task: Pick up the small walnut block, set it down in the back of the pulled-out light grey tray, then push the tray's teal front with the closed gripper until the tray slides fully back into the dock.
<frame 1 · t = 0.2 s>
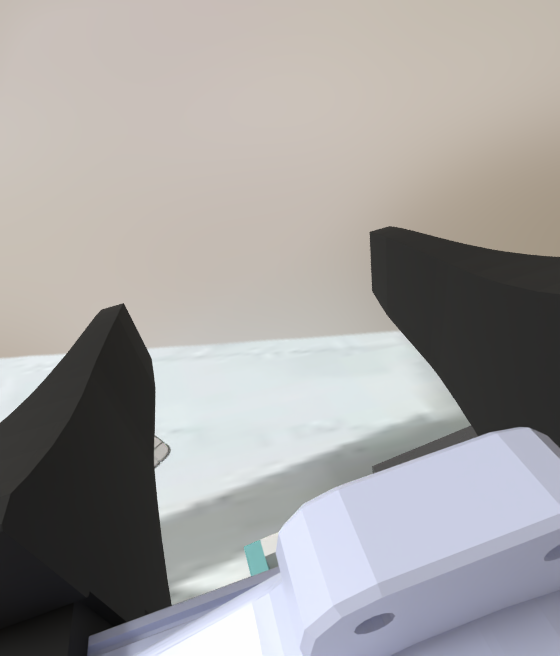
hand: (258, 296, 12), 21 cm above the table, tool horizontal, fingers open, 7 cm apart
dock: (548, 590, 22), on the table
tray: (420, 641, 20), point 2 cm above the table, slide at 8.0 cm
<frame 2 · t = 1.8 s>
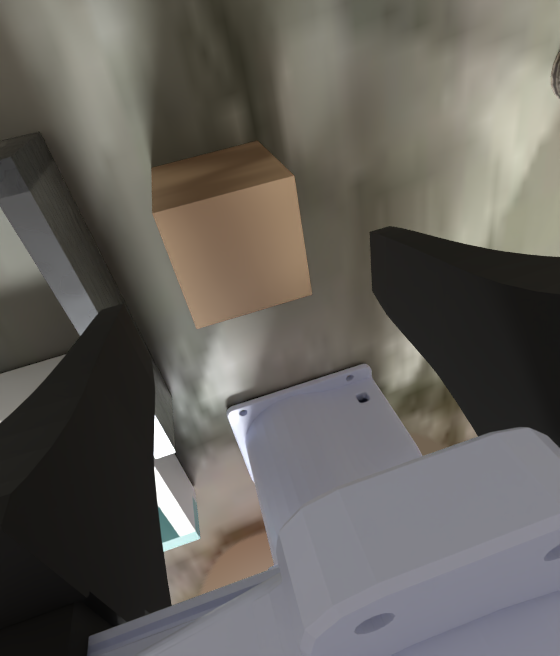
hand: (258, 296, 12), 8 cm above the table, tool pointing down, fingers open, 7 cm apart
walnut block: (219, 205, 18), on the table
tray: (36, 493, 23), point 2 cm above the table, slide at 8.0 cm
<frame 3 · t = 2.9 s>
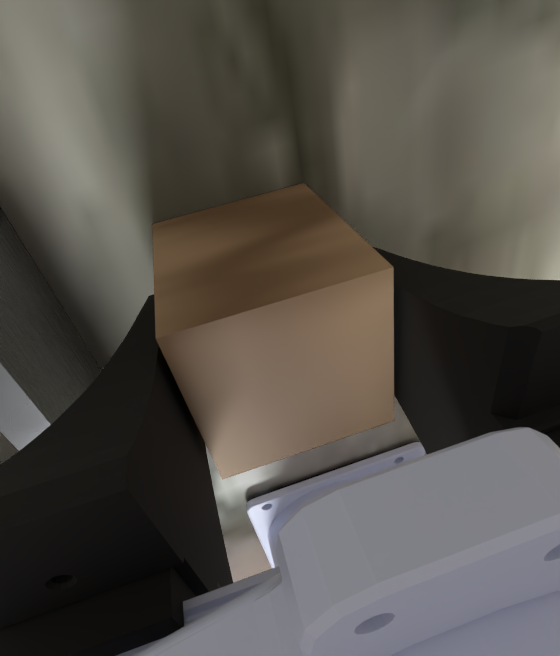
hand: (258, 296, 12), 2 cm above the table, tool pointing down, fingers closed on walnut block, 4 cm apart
walnut block: (247, 270, 13), on the table, touching gripper
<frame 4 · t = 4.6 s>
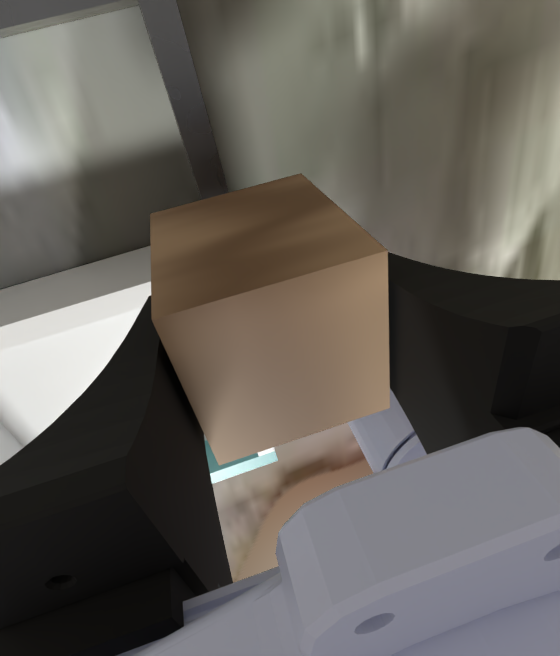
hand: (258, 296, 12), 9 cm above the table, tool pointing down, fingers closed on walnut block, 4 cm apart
walnut block: (244, 261, 13), point 7 cm above the table, touching gripper
dock: (42, 252, 18), on the table
tray: (117, 402, 22), point 2 cm above the table, slide at 8.0 cm
when the fingers open (5 cm above the table, at t = 6.5 s): walnut block drops 2 cm, resting on tray.
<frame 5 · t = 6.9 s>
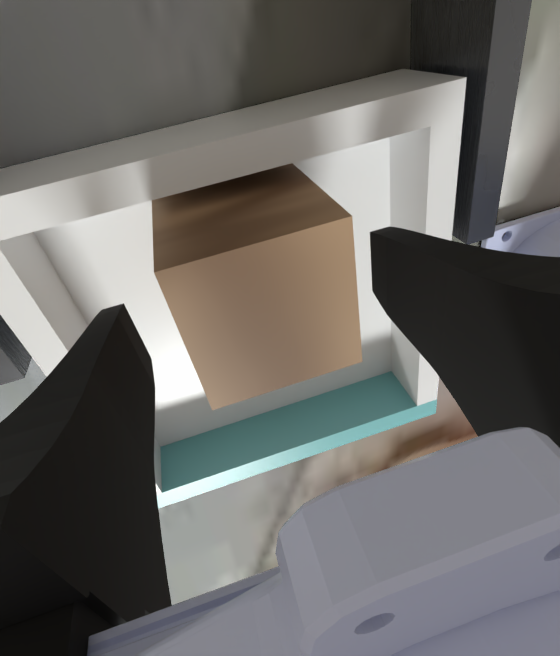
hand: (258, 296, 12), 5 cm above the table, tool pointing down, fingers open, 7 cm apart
walnut block: (236, 238, 15), point 1 cm above the table, touching tray
dock: (190, 82, 13), on the table
tray: (257, 321, 16), point 2 cm above the table, slide at 8.0 cm, touching walnut block
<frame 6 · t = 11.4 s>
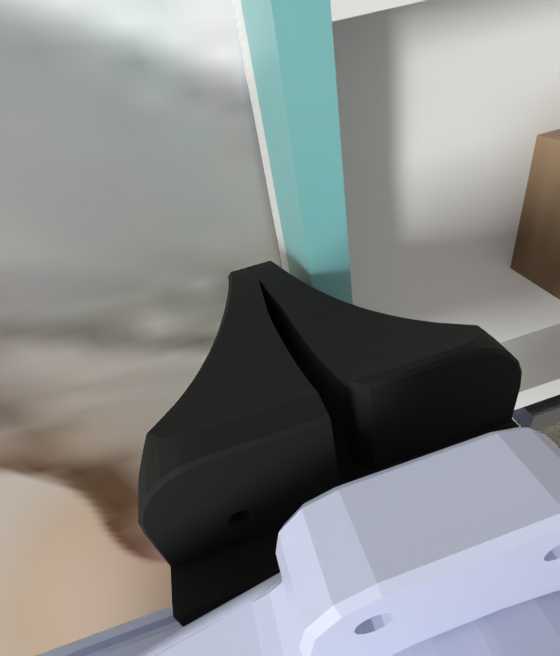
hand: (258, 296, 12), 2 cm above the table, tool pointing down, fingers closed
tray: (512, 222, 13), point 2 cm above the table, slide at 6.8 cm, touching gripper, walnut block
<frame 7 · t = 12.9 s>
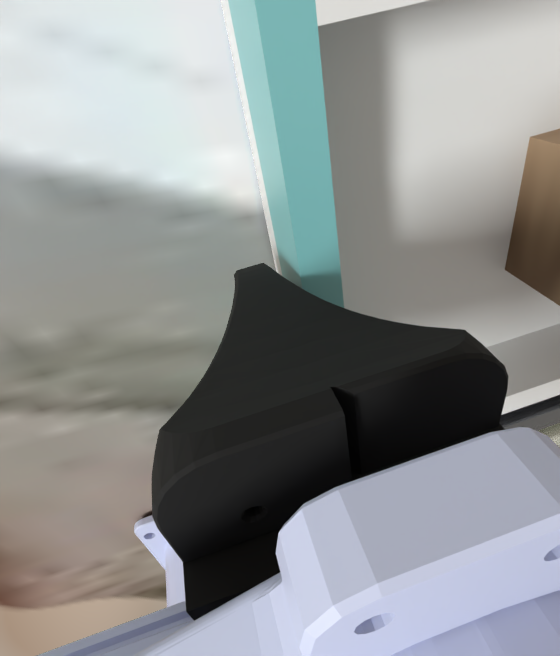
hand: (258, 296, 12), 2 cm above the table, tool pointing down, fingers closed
dock: (464, 204, 14), on the table
tray: (505, 224, 13), point 2 cm above the table, slide at -0.1 cm, touching gripper, walnut block
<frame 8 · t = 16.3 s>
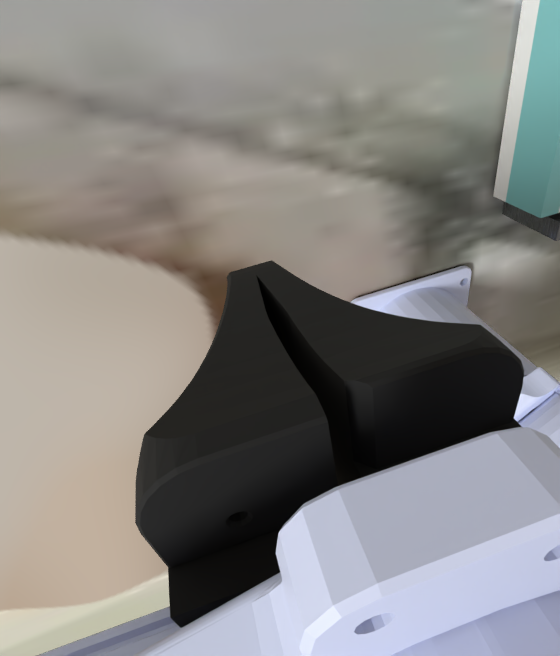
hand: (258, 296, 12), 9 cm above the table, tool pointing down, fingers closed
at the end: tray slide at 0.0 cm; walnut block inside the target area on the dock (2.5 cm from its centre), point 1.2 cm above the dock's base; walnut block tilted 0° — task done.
